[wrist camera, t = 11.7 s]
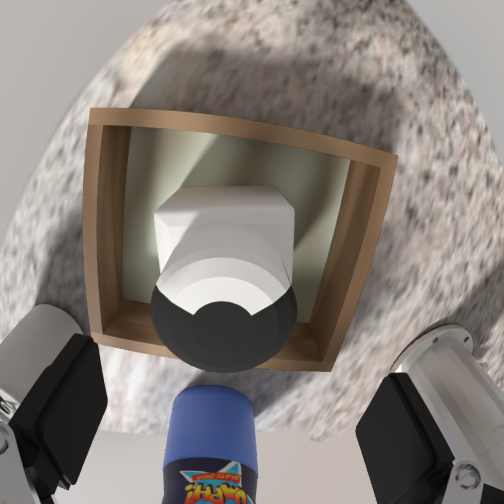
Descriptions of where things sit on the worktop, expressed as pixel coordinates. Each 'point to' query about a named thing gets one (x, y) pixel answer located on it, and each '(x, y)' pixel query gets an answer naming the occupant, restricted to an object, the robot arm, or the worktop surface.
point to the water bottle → (210, 448)
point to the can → (31, 353)
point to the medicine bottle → (225, 276)
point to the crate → (228, 174)
